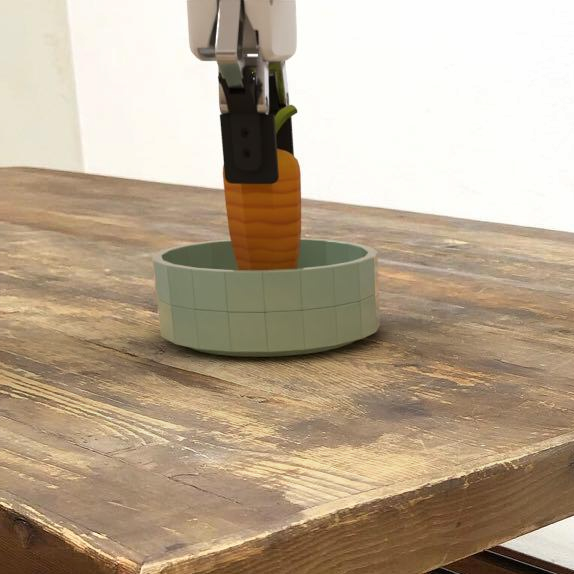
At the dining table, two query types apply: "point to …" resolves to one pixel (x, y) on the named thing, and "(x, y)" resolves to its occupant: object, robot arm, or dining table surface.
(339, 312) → the bowl
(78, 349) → the dining table surface
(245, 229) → the carrot
